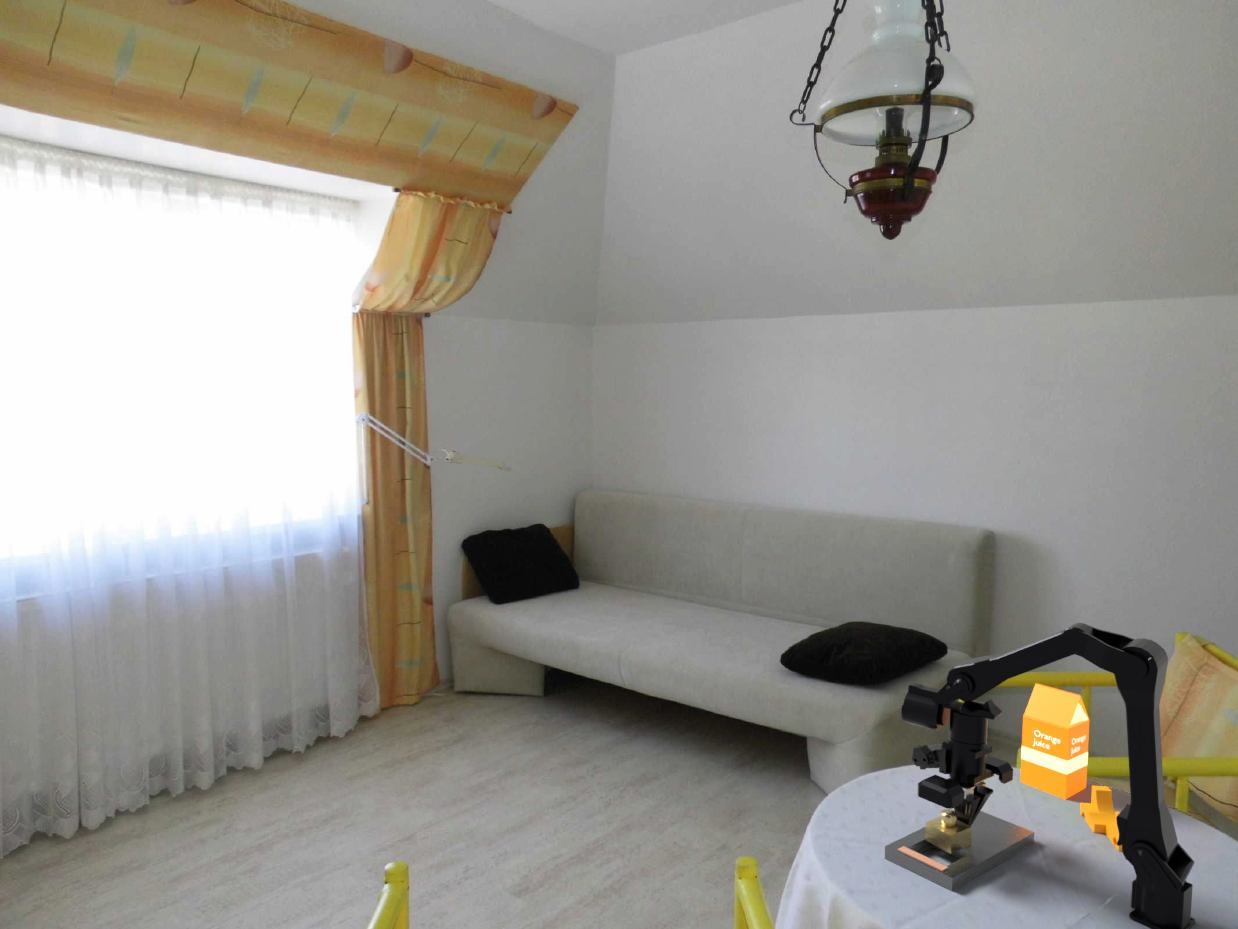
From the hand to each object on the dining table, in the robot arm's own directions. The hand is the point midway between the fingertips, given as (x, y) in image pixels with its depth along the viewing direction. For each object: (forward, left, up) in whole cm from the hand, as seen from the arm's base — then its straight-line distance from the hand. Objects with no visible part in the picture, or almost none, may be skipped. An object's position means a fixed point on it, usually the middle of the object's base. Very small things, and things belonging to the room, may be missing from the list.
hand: (964, 830), depth 148 cm
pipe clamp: (-12, -23, -4) cm, 27 cm away
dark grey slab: (0, +1, -3) cm, 3 cm away
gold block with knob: (+1, +4, -1) cm, 4 cm away
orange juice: (+2, -33, -3) cm, 33 cm away
